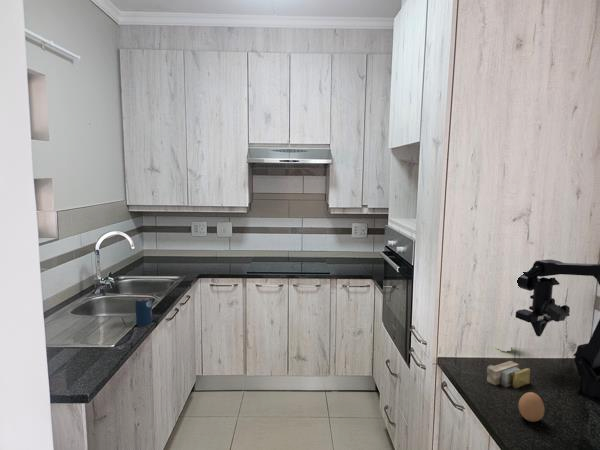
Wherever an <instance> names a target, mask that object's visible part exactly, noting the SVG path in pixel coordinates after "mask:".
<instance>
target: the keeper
mask: <svg viewBox="0 0 600 450" xmlns="http://www.w3.org/2000/svg"><path fill="white" fill-rule="evenodd" d="M530 378H531V368H528V367H526V368H524V369H521V370H520V371H517V372H514V378H513V385H512V388H515V389H518V388H521V387H523V386H526V385H529V384H530Z"/></svg>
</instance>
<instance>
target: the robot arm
mask: <svg viewBox="0 0 600 450" xmlns="http://www.w3.org/2000/svg"><path fill="white" fill-rule="evenodd" d="M523 273H524V274H523V275H521V276H520V277H519V278H518V280H517V283H518V286H519V287H520V288H519V287H518V288H519V289H522V290H526V291H529V292H531V291H533V295H531V294H530V297H529V298H530V299H532V302H531V303H532V304H531V305H530V306H529V307H528V309H529V310H528V309H526V308H524V309H518V310H516V311H515V316H514V317H515V318H517V319H519V320H521V321H524V322H526V323H530V324H531V326H532V328H533V331H534V333H535V336H536V337H541V336H542V335H543V333H544V330H545V328H546V327H547V325H548V324H549V323H550V322H553V321H554V322H557V323H559V322H563V321H565V319H566V318H567V317H569V316H570V311H571V310H570V306H568V305H567V304H565V305H558V304H556V299H555V298H554V297H553V286H559V285H560V282H559V281H558V280H557V278H556V277H551V276H557V275H558V276H559V275H564V276H565V275H567V276H582V277H583V276H587V277H589V276H590V277H593V278H595V280H596V281H597V283H598V285H599V286H600V263H578V262H577V263H575V262H574V263H573V262H572V263H571V262H570V263H569V262H567V263H566V262H562V261H559V260H554V259H540V260H535V261H534V263H533V264H532V267H530V269H529V270H528V271H527V272H523ZM549 276H550V277H549ZM539 277H540V278H539ZM572 356H573V357H574V358H573V362H574V364H575V366H576V369H577V373H578V376H579V378H578V379H579V380H578V388H577V389H578V390H577V391H576V393H577V394H578V395H581V396H583V397H585V398H588V399H589V400H592V401H594V402H597V403H600V318H599V319H598V321H597V324H596V326H595V329H594V330H593V333H592V334H591V337H590V339H589V342H587V343H584V344H583V343H582V344H579V345H577V348H576V352H575V353H574V354H573V355H572Z"/></svg>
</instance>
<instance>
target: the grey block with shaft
mask: <svg viewBox="0 0 600 450" xmlns="http://www.w3.org/2000/svg"><path fill="white" fill-rule="evenodd" d="M493 366H494V365H493V364H489V365H488V366H487V368H486V372H487V374H488V368H489V367H493ZM520 370H522V369H521V368H519V367H518V368H516V367H514V368H511V369H508V370H505V371H502V378H501V383H500V385H501V386H503V387H505V388H509V387H510V386H513V378H514V372H517V371H520Z"/></svg>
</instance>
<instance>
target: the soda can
mask: <svg viewBox="0 0 600 450" xmlns="http://www.w3.org/2000/svg"><path fill="white" fill-rule="evenodd" d="M134 305H135V323H136V325H137V326H138V327H141V328H142V327H149V326H150V325H151V324H152V322H153V301H152V300H151V297H148V296H141V297H138V298H136V301H135V304H134Z"/></svg>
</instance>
